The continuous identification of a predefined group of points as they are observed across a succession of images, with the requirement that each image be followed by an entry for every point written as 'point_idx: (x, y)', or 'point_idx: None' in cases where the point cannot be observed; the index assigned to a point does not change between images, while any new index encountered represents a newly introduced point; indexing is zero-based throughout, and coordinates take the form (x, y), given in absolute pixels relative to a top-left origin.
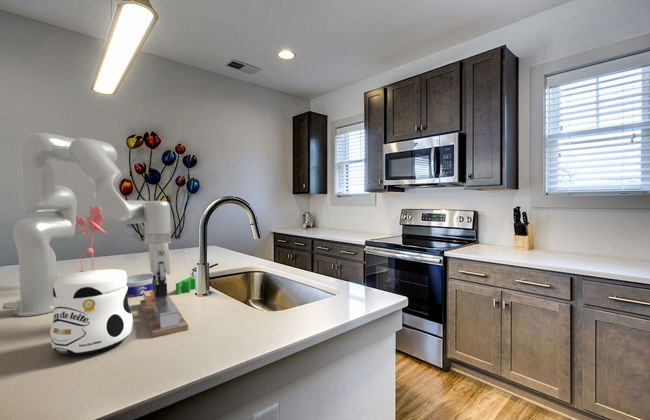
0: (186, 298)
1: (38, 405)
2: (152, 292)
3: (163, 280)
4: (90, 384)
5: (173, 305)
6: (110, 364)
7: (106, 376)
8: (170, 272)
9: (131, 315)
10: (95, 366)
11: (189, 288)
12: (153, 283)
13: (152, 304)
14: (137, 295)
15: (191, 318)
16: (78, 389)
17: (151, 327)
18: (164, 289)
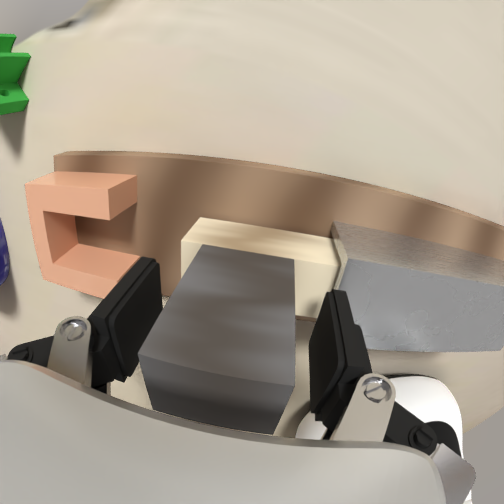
0: (93, 67)
1: (473, 423)
2: (52, 246)
3: (403, 427)
4: (492, 397)
5: (488, 291)
6: (478, 386)
7: (497, 386)
8: (422, 457)
9: (443, 414)
10: (461, 400)
11: (17, 54)
12: (138, 358)
13: (146, 253)
14: (3, 243)
15: (445, 159)
16: (488, 404)
17: None
18: (365, 346)
